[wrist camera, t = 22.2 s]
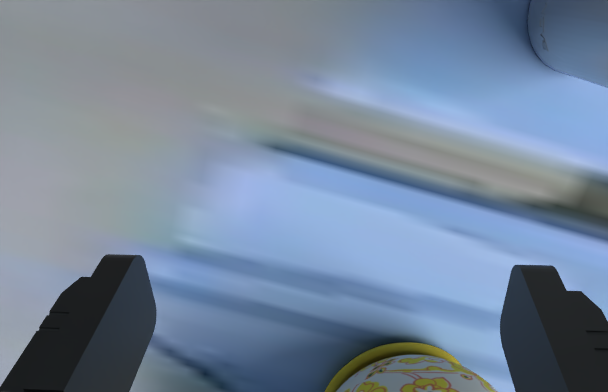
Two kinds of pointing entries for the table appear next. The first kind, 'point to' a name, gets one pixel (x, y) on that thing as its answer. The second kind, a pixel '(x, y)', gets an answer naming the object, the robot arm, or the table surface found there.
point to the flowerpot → (406, 371)
